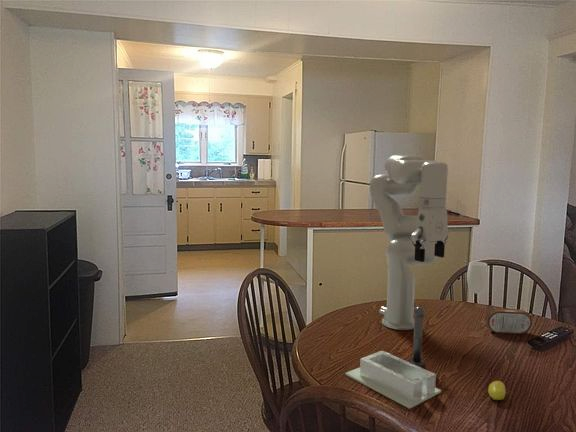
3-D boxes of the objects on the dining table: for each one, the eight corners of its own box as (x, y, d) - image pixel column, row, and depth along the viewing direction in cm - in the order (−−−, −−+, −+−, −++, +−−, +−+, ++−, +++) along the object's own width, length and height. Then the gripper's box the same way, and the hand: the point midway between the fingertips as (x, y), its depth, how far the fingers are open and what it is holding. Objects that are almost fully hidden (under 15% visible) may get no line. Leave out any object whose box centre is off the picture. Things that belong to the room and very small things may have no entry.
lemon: (507, 393, 123) (508, 378, 122) (503, 406, 116) (504, 392, 115) (490, 388, 125) (491, 374, 124) (485, 401, 118) (486, 387, 117)
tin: (528, 332, 164) (530, 308, 163) (532, 335, 161) (534, 312, 160) (484, 330, 166) (485, 307, 164) (486, 333, 163) (488, 310, 161)
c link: (359, 375, 130) (360, 358, 129) (381, 366, 135) (382, 350, 135) (412, 403, 116) (413, 384, 115) (434, 392, 121) (435, 374, 120)
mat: (345, 374, 132) (345, 372, 131) (376, 362, 139) (376, 360, 139) (409, 408, 114) (409, 406, 114) (440, 392, 122) (441, 390, 122)
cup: (484, 314, 182) (487, 262, 179) (485, 320, 175) (489, 266, 172) (464, 312, 184) (467, 260, 181) (464, 318, 177) (468, 264, 174)
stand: (405, 363, 139) (408, 306, 136) (415, 359, 141) (417, 303, 139) (418, 369, 135) (421, 310, 133) (427, 364, 138) (430, 307, 136)
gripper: (425, 206, 132) (421, 265, 135) (460, 202, 143) (456, 257, 145) (403, 204, 138) (401, 260, 141) (439, 200, 149) (436, 252, 151)
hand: (429, 258), depth 143 cm, fingers open, 9 cm apart
